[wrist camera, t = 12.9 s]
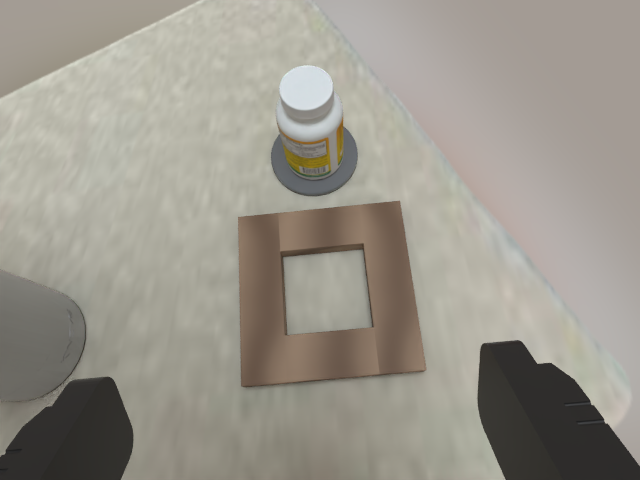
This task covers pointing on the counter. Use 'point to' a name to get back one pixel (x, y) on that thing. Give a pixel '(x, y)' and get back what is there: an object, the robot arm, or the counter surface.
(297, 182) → the coaster
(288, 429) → the counter surface
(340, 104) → the supplement bottle
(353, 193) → the counter surface
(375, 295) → the pocket board
